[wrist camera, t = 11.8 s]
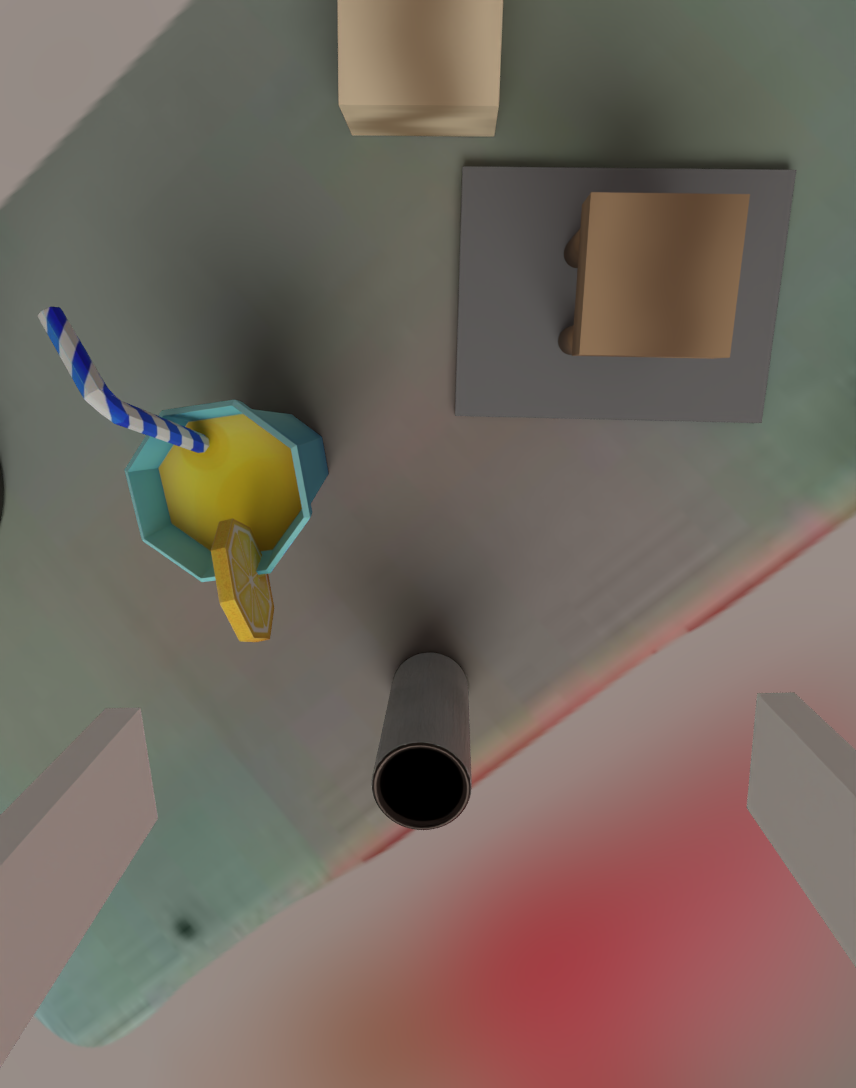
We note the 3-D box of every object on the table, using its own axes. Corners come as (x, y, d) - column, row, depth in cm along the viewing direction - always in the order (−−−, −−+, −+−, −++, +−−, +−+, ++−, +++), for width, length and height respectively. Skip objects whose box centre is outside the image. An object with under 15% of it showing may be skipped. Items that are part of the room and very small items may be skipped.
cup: (143, 372, 37) (-60, 372, 23) (260, 294, 36) (126, 241, 21) (284, 585, 40) (184, 708, 25) (398, 519, 39) (362, 609, 24)
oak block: (352, 135, 34) (338, 104, 30) (351, -31, 32) (337, -86, 28) (494, 136, 34) (498, 105, 30) (500, -31, 32) (506, -87, 28)
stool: (552, 358, 36) (579, 354, 28) (560, 233, 34) (590, 192, 26) (670, 360, 35) (729, 357, 28) (683, 234, 34) (750, 194, 26)
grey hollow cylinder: (456, 729, 42) (456, 842, 32) (384, 710, 41) (360, 817, 32) (477, 662, 40) (483, 757, 30) (403, 642, 40) (384, 731, 30)
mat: (455, 415, 37) (455, 415, 36) (462, 169, 34) (462, 166, 34) (756, 422, 36) (761, 423, 36) (790, 173, 34) (796, 169, 33)
